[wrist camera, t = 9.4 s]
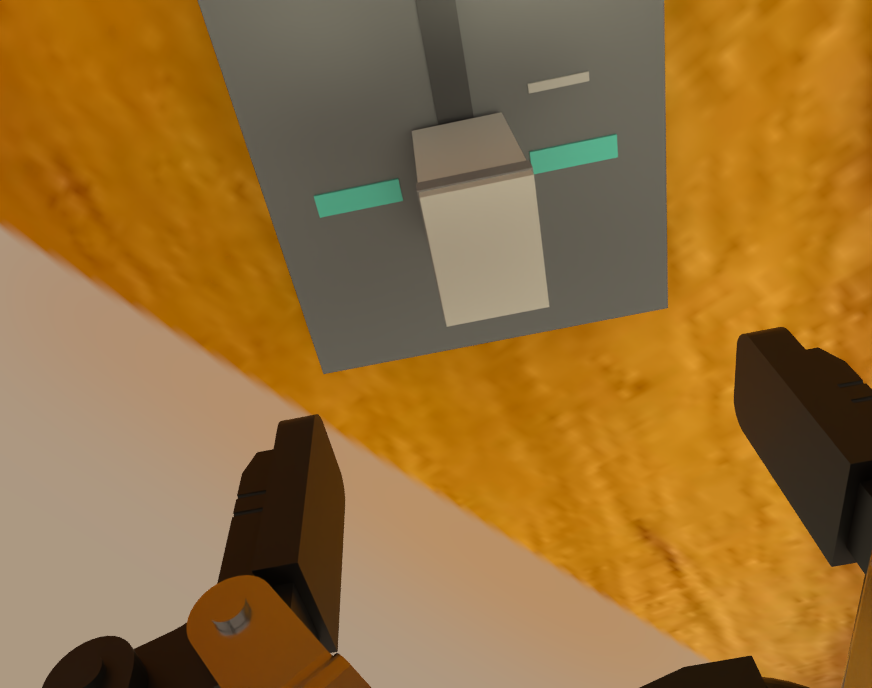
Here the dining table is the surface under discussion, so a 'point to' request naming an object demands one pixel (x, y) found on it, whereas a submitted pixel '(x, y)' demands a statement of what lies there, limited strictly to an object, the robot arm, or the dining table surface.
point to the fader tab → (480, 219)
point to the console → (435, 105)
